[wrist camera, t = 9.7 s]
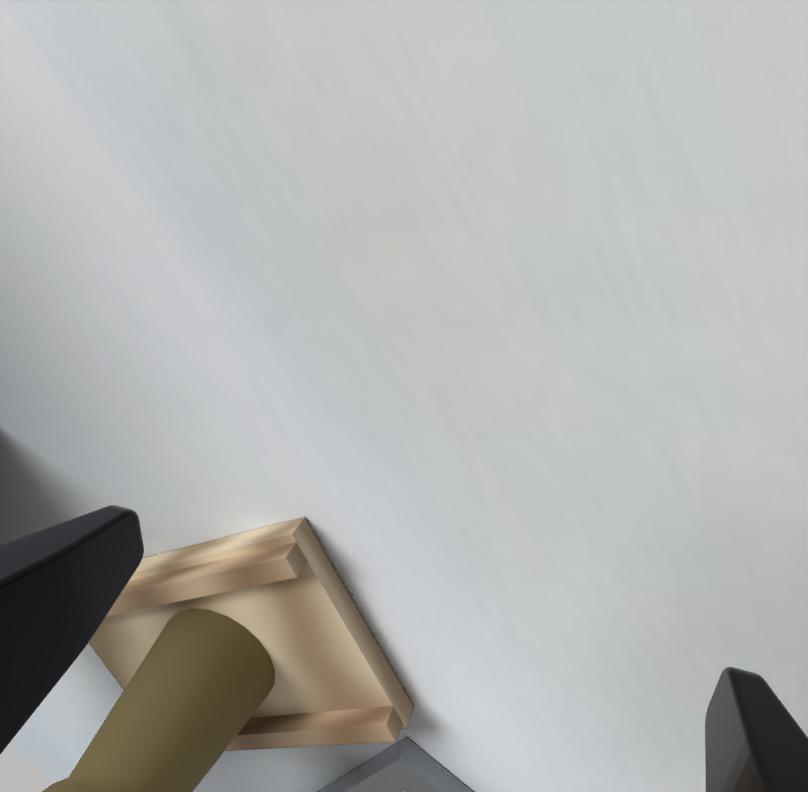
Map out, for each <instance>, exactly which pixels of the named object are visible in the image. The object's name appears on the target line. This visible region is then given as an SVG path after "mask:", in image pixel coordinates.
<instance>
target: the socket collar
mask: <svg viewBox="0 0 808 792" xmlns="http://www.w3.org/2000/svg"><path fill="white" fill-rule="evenodd" d="M403 789H406V790H407V791H408V792H473V791H472V790H471V789H469V788H468V787H467V786H466V785H465V784H463V783H462V782H461V781H460V780H458V779H457V778H456V777H455V776H454V775H452V774H451V773H450V772H449V771H448V770H446V769H445V768H444V767H443V766H441V765H440V764H439V763H438V762H437V761H435V760H434V759H433V758H432V757H431V756H429V755H428V754H427V753H426V752H424V751H423V750H422V749H421V748H420V747H418V746H417V745H416V744H415V743H413V742H412V741H411V740H410V739H409V738H407V737H406V738H404V739H402V740H401V741H399V742H398V743H396V744H394V745H393V746H391V747H389V748H388V749H386V750H385V751H383V752H381V753H380V754H378V755H376V756H375V757H373V758H372V759H370V760H368V761H367V762H365V763H363V764H362V765H360V766H359V767H357V768H355V769H354V770H352V771H350V772H349V773H347V774H346V775H344V776H342V777H341V778H339V779H337V780H336V781H334V782H333V783H331V784H329V785H328V786H326V787H324V788H323V789H321V790H320V791H318V792H400V791H402V790H403Z"/></svg>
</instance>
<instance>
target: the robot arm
mask: <svg viewBox="0 0 808 792" xmlns="http://www.w3.org/2000/svg"><path fill="white" fill-rule="evenodd" d="M143 553H144V546H143V540H142V534H141V529H140V523H139V517H138V515H137V513H136V512H135V511H133V510H131V509H127V508H124V507H120V506H114V505H112V506H108V507H105V508H102V509H99V510H97V511H94V512H91V513H88V514H85V515H83V516H80V517H77V518H74V519H72V520H69V521H66V522H63V523H61V524H58V525H55V526H52V527H50V528H47V529H44V530H41V531H39V532H36V533H33V534H30V535H27V536H25V537H22V538H19V539H16V540H14V541H11V542H8V543H5V544H3V545H0V754H1V753H2V752H3V750H4V749H5V748H6V747H7V745H8V744H9V743H10V741H11V740H12V739H13V738H14V736H15V735H16V734H17V733H18V731H19V730H20V729H21V728H22V726H23V725H24V724H25V723H26V721H27V720H28V719H29V718H30V716H31V715H32V714H33V712H34V711H35V710H36V709H37V707H38V706H39V705H40V704H41V702H42V701H43V700H44V699H45V697H46V696H47V695H48V694H49V692H50V691H51V690H52V688H53V687H54V686H55V685H56V683H57V682H58V681H59V680H60V678H61V677H62V676H63V675H64V673H65V672H66V671H67V670H68V668H69V667H70V666H71V665H72V663H73V662H74V661H75V659H76V658H77V657H78V656H79V654H80V653H81V652H82V650H83V649H84V648H85V646H86V645H87V644H88V642H89V641H90V639H91V638H92V637H93V635H94V634H95V632H96V631H97V629H98V628H99V626H100V625H101V623H102V622H103V620H104V619H105V617H106V615H107V614H108V612H109V611H110V609H111V608H112V606H113V605H114V603H115V602H116V600H117V599H118V597H119V595H120V594H121V592H122V591H123V589H124V588H125V586H126V585H127V583H128V582H129V580H130V579H131V577H132V575H133V574H134V572H135V571H136V569H137V568H138V566H139V564H140V563H141V560H142V557H143ZM705 749H706V792H808V737H807V736H806V735H805V733H804V732H803V731H802V729H801V728H800V727H799V725H798V724H797V723H796V721H795V720H794V719H793V717H792V716H791V715H790V713H789V712H788V711H787V709H786V708H785V707H784V705H783V704H782V703H781V701H780V700H779V699H778V697H777V696H776V695H775V693H774V692H773V691H772V689H771V688H770V686H769V685H768V684H767V682H766V681H765V680H764V679H763V678H762V677H761V676H760V675H758V674H756V673H752V672H748V671H745V670H741V669H737V668H733V667H727V668H725V669H724V671H723V672H722V674H721V676H720V678H719V681H718V683H717V686H716V688H715V691H714V693H713V696H712V698H711V701H710V703H709V706H708V709H707V713H706V722H705Z"/></svg>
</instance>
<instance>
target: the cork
mask: <svg viewBox="0 0 808 792" xmlns="http://www.w3.org/2000/svg"><path fill="white" fill-rule="evenodd" d="M274 682H275V669H274V666H273V663H272V660H271V658H270V655H269V654H268V652H267V651H266V649H265V648H264V646H263V645H262V644H261V642H260V641H259V640H258V639H257V638H256V637H255V636H254V635H253V634H252V633H251V632H250V631H249V630H248V629H247V628H245V627H244V626H243V625H241V624H239V623H238V622H236V621H234V620H233V619H231V618H230V617H228V616H225V615H223V614H220V613H217V612H214V611H211V610H207V609H196V608H191V609H187V610H183V611H179V612H178V613H176V614H175V615H174V616H173V617H171V618H170V619H169V620H168V622H167V624H166V625H165V627H164V628H163V630H162V631H161V633H160V635H159V636H158V638H157V639H156V641H155V642H154V644H153V646H152V647H151V649H150V650H149V652H148V653H147V655H146V657H145V658H144V660H143V661H142V663H141V665H140V666H139V668H138V669H137V671H136V672H135V674H134V676H133V677H132V679H131V680H130V682H129V683H128V685H127V687H126V688H125V690H124V691H123V693H122V694H121V696H120V698H119V699H118V701H117V702H116V704H115V705H114V707H113V709H112V710H111V712H110V713H109V715H108V716H107V718H106V720H105V721H104V723H103V724H102V726H101V727H100V729H99V731H98V732H97V734H96V735H95V737H94V738H93V740H92V742H91V743H90V745H89V746H88V748H87V749H86V751H85V753H84V754H83V756H82V757H81V759H80V760H79V762H78V764H77V765H76V767H75V768H74V770H73V771H72V773H71V775H70V776H69V778H66V779H64V780H61V781H59V782H56V783H54V784H52V785H51V786H49V787H48V788H46V789H45V790H44V791H42V792H193V790H194V789H195V788H196V786H197V785H198V784H199V783H200V781H201V780H202V779H203V777H204V776H205V775H206V774H207V772H208V771H209V770H210V769H211V767H212V766H213V765H214V763H215V762H216V761H217V760H218V758H219V757H220V756H221V754H222V753H223V752H224V751H225V749H226V748H227V747H228V745H229V744H230V743H231V742H232V740H233V739H234V738H235V737H236V735H237V734H238V733H239V731H240V730H241V729H242V728H243V726H244V725H245V724H246V722H247V721H248V720H249V719H250V717H251V716H252V715H253V714H254V712H255V711H256V710H257V708H258V707H259V706H260V705H261V703H262V702H263V701H264V699H265V698H266V697H267V696H268V694H269V693H270V691H271V689H272V687H273V686H274Z"/></svg>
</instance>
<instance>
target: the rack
mask: <svg viewBox="0 0 808 792" xmlns="http://www.w3.org/2000/svg"><path fill="white" fill-rule="evenodd" d="M191 608H196V609H207V610H211V611H214V612H217V613H220V614H223V615H225V616H228V617H230V618H231V619H233V620H234V621H236V622H238V623H239V624H241V625H243V626H244V627H245V628H247V629H248V630H249V631H250V632H251V633H252V634H253V635H254V636H255V637H256V638H257V639H258V640H259V641H260V642H261V644H262V645H263V646H264V648H265V649H266V651H267V652H268V654H269V655H270V658H271V660H272V663H273V666H274V669H275V682H274V686H273V687H272V689H271V691H270V693H269V694H268V696H267V697H266V698H265V699H264V701H263V702H262V703H261V705H260V706H259V707H258V708H257V710H256V711H255V712H254V714H253V715H252V716H251V717H250V719H249V720H248V721H247V722H246V724H245V725H244V726H243V728H242V729H241V730H240V731H239V733H238V734H237V735H236V737H235V738H234V739H233V740H232V742H231V743H230V744H229V745H228V747H227V748H226V749H225V751H233V750H251V749H269V748H288V747H306V746H324V745H343V744H361V743H379V742H396V740H397V737H398V734H399V731H400V729H406V728H407V725H408V722H409V720H410V717H411V714H412V711H413V708H414V706H413V704H412V702H411V700H410V699H409V697H408V695H407V693H406V692H405V690H404V688H403V687H402V685H401V683H400V681H399V680H398V678H397V676H396V674H395V673H394V671H393V669H392V667H391V666H390V664H389V662H388V661H387V659H386V657H385V655H384V654H383V652H382V650H381V648H380V647H379V645H378V643H377V642H376V640H375V638H374V636H373V635H372V633H371V631H370V629H369V628H368V626H367V624H366V622H365V621H364V619H363V617H362V616H361V614H360V612H359V610H358V609H357V607H356V605H355V603H354V602H353V600H352V598H351V596H350V595H349V593H348V591H347V590H346V588H345V586H344V584H343V583H342V581H341V579H340V577H339V576H338V574H337V572H336V570H335V569H334V567H333V565H332V564H331V562H330V560H329V558H328V557H327V555H326V553H325V551H324V550H323V548H322V546H321V545H320V543H319V541H318V539H317V538H316V536H315V534H314V532H313V531H312V529H311V527H310V525H309V524H308V522H307V520H306V519H305V517H303V518H299V519H295V520H291V521H287V522H283V523H279V524H275V525H272V526H268V527H264V528H260V529H256V530H252V531H248V532H244V533H240V534H236V535H232V536H228V537H224V538H220V539H216V540H212V541H209V542H205V543H201V544H197V545H193V546H189V547H185V548H181V549H177V550H173V551H169V552H165V553H161V554H157V555H153V556H150V557H146V558H142V560H141V563H140V564H139V566H138V568H137V569H136V571H135V572H134V574H133V575H132V577H131V579H130V580H129V582H128V583H127V585H126V586H125V588H124V589H123V591H122V592H121V594H120V595H119V597H118V599H117V600H116V602H115V603H114V605H113V606H112V608H111V609H110V611H109V612H108V614H107V615H106V617H105V619H104V620H103V622H102V623H101V625H100V626H99V628H98V629H97V631H96V632H95V634H94V635H93V637H92V638H91V639H90V641H89V644H90V645H91V646H92V648H93V649H94V650H95V652H96V653H97V655H98V656H99V657H100V659H101V660H102V661H103V663H104V664H105V665H106V667H107V668H108V669H109V671H110V672H111V673H112V675H113V676H114V678H115V679H116V680H117V682H118V683H119V684H120V686H121V687H122V688H123V690H125V688H126V687H127V685H128V683H129V682H130V680H131V679H132V677H133V676H134V674H135V672H136V671H137V669H138V668H139V666H140V665H141V663H142V661H143V660H144V658H145V657H146V655H147V653H148V652H149V650H150V649H151V647H152V646H153V644H154V642H155V641H156V639H157V638H158V636H159V635H160V633H161V631H162V630H163V628H164V627H165V625H166V624H167V622H168V620H169V619H170V618H171V617H173V616H174V615H175V614H176V613H178V612H179V611H183V610H187V609H191Z"/></svg>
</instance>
